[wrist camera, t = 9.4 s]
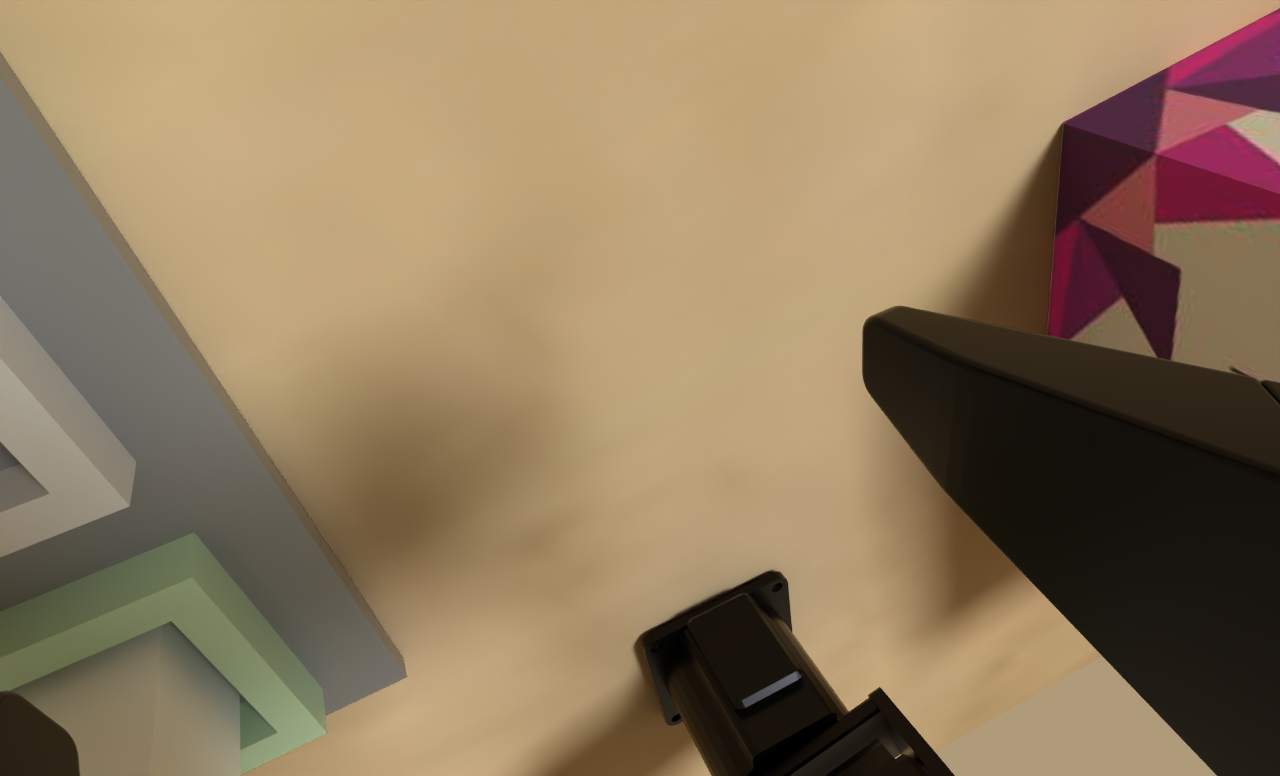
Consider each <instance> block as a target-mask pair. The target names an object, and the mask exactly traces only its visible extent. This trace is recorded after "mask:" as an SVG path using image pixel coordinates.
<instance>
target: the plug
mask: <svg viewBox="0 0 1280 776" xmlns="http://www.w3.org/2000/svg"><path fill="white" fill-rule="evenodd" d="M10 691H11V692H16V693H17V694H19V695H21V696H22V697H24V698H25V699H26V700H27V701H29V702H30V703H31V704H33V705H34V706H35V707H37V708H38V709H39V710H40V711H42V712H43V713H44V714H46V715H47V716H48V717H50V718H51V719H52V720H53V721H55V722H56V723H57V724H59V725H60V726H61V727H63V728H64V729H65V730H66V731H67V732H68V733H69V734H70V736H71V737H72V738H73V740H74V742H75V744H76V748H77V751H78V756H79V767H80V776H241V763H240V692H239V691H238V690H237V689H236V688H235V687H234V686H233V685H232V684H231V683H230V682H229V681H228V680H227V679H226V678H225V677H224V676H223V675H222V674H221V673H220V671H219V670H218V669H217V668H216V667H215V666H214V665H213V664H212V663H211V662H210V661H209V660H208V659H207V658H206V657H205V656H204V655H203V654H202V653H201V652H200V650H199V649H198V648H197V647H196V646H195V645H194V644H193V643H192V642H191V641H190V640H189V639H188V638H187V637H186V636H185V635H184V634H183V633H182V632H181V631H180V630H179V628H178V627H177V626H176V625H175V624H174V623H173V622H172V621H170V622H168V623H166V624H163V625H161V626H159V627H156V628H154V629H152V630H149V631H147V632H145V633H142V634H140V635H138V636H135V637H133V638H131V639H128V640H126V641H124V642H121V643H119V644H117V645H114V646H112V647H110V648H107V649H105V650H103V651H101V652H98V653H96V654H94V655H91V656H89V657H87V658H84V659H82V660H80V661H77V662H75V663H73V664H70V665H68V666H66V667H63V668H61V669H59V670H56V671H54V672H52V673H49V674H47V675H45V676H42V677H40V678H38V679H35V680H33V681H31V682H28V683H26V684H24V685H21V686H19V687H17V688H14V689H12V690H10Z"/></svg>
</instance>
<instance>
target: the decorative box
mask: <svg viewBox="0 0 1280 776" xmlns="http://www.w3.org/2000/svg"><path fill="white" fill-rule="evenodd" d="M1047 335H1048V336H1053V337H1058V338H1063V339H1068V340H1073V341H1077V342H1082V343H1087V344H1092V345H1097V346H1102V347H1107V348H1112V349H1117V350H1122V351H1127V352H1132V353H1137V354H1142V355H1147V356H1151V357H1156V358H1161V359H1166V360H1171V361H1176V362H1181V363H1186V364H1191V365H1196V366H1201V367H1206V368H1211V369H1216V370H1221V371H1225V372H1230V373H1235V374H1240V375H1245V376H1250V377H1254V378H1256V379H1257V380H1258V381H1259V382H1260V381H1262V380H1271V381H1276V382H1280V9H1278V10H1276V11H1274V12H1272V13H1270V14H1269V15H1267V16H1265V17H1263V18H1261V19H1259V20H1257V21H1255V22H1253V23H1252V24H1250V25H1248V26H1246V27H1244V28H1242V29H1240V30H1238V31H1236V32H1234V33H1233V34H1231V35H1229V36H1227V37H1225V38H1223V39H1221V40H1219V41H1217V42H1216V43H1214V44H1212V45H1210V46H1208V47H1206V48H1204V49H1202V50H1200V51H1198V52H1197V53H1195V54H1193V55H1191V56H1189V57H1187V58H1185V59H1183V60H1181V61H1180V62H1178V63H1176V64H1174V65H1172V66H1170V67H1168V68H1166V69H1164V70H1162V71H1161V72H1159V73H1157V74H1155V75H1153V76H1151V77H1149V78H1147V79H1145V80H1144V81H1142V82H1140V83H1138V84H1136V85H1134V86H1132V87H1130V88H1128V89H1126V90H1125V91H1123V92H1121V93H1119V94H1117V95H1115V96H1113V97H1111V98H1109V99H1107V100H1106V101H1104V102H1102V103H1100V104H1098V105H1096V106H1094V107H1092V108H1090V109H1089V110H1087V111H1085V112H1083V113H1081V114H1079V115H1077V116H1075V117H1073V118H1071V119H1070V120H1068V121H1066V122H1064V123H1063V126H1062V140H1061V153H1060V166H1059V179H1058V192H1057V205H1056V218H1055V231H1054V244H1053V258H1052V271H1051V284H1050V297H1049V310H1048V323H1047Z"/></svg>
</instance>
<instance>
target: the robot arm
mask: <svg viewBox="0 0 1280 776" xmlns="http://www.w3.org/2000/svg"><path fill="white" fill-rule="evenodd" d="M862 375H863V380H864V384H865V386H866V389H867V390H868V392H869V394H870V395H871V397H872V398H873V399H874V401H875V402H876V403H877V405H878V406H879V407H880V408H881V410H882V411H883V412H884V414H885V415H886V416H887V418H888V419H889V420H890V421H891V423H892V424H893V425H894V427H895V428H896V429H897V431H898V432H899V433H900V434H901V436H902V437H903V438H904V440H905V441H906V442H907V444H908V445H909V446H910V447H911V449H912V450H913V451H914V453H915V454H916V455H917V457H918V458H919V459H920V460H921V462H922V463H923V464H924V466H925V467H926V468H927V470H928V471H929V472H930V473H931V475H932V476H933V477H934V478H935V480H936V481H937V482H938V483H939V485H940V486H941V487H942V488H943V489H944V491H945V492H946V493H947V494H948V495H949V496H950V497H951V498H952V499H953V500H954V502H955V503H956V504H957V505H958V506H959V507H960V508H961V509H962V510H963V511H964V512H965V513H966V514H967V515H968V516H969V517H970V518H971V519H972V520H973V522H974V523H975V524H976V525H977V526H978V527H979V528H980V529H981V530H982V531H983V532H984V533H985V534H986V535H987V536H988V537H989V538H990V539H991V540H992V541H993V542H994V543H995V544H996V546H997V547H998V548H999V549H1000V550H1001V551H1002V552H1003V553H1004V554H1005V555H1006V556H1007V557H1008V558H1009V559H1010V560H1011V561H1012V562H1013V563H1014V564H1015V565H1016V566H1017V567H1018V568H1019V570H1020V571H1021V572H1022V573H1023V574H1024V575H1025V576H1026V577H1027V578H1028V579H1029V580H1030V581H1031V582H1032V583H1033V584H1034V585H1035V586H1036V587H1037V588H1038V589H1039V590H1040V591H1041V592H1042V593H1043V595H1044V596H1045V597H1046V598H1047V599H1048V600H1049V601H1050V602H1051V603H1052V604H1053V605H1054V606H1055V607H1056V608H1057V609H1058V610H1059V611H1060V612H1061V613H1062V614H1063V615H1064V616H1065V617H1066V619H1067V620H1068V621H1069V622H1070V623H1071V624H1072V625H1073V626H1074V627H1075V628H1076V629H1077V630H1078V631H1079V632H1080V633H1081V634H1082V635H1083V636H1084V637H1085V638H1086V639H1087V640H1088V641H1089V643H1090V644H1091V645H1092V646H1093V647H1094V648H1095V649H1096V650H1097V651H1098V652H1099V653H1100V654H1101V655H1102V656H1103V657H1104V658H1105V659H1106V660H1107V661H1108V662H1109V663H1110V664H1111V665H1112V666H1113V668H1114V669H1115V670H1116V671H1117V672H1118V673H1119V674H1120V675H1121V676H1122V677H1123V678H1124V679H1125V680H1126V681H1127V682H1128V683H1129V684H1130V685H1131V686H1132V687H1133V688H1134V689H1135V690H1136V692H1137V693H1138V694H1139V695H1140V696H1141V697H1142V698H1143V699H1144V700H1145V701H1146V702H1147V703H1148V704H1149V705H1150V706H1151V707H1152V708H1153V709H1154V710H1155V711H1156V712H1157V713H1158V714H1159V716H1160V717H1161V718H1162V719H1163V720H1164V721H1165V722H1166V723H1167V724H1168V725H1169V726H1170V727H1171V728H1172V729H1173V730H1174V731H1175V732H1176V733H1177V734H1178V735H1179V736H1180V737H1181V738H1182V740H1183V741H1184V742H1185V743H1186V744H1187V745H1188V746H1189V747H1190V748H1191V749H1192V750H1193V751H1194V752H1195V753H1196V754H1197V755H1198V756H1199V757H1200V758H1201V759H1202V760H1203V761H1204V762H1205V763H1206V764H1207V766H1208V767H1209V768H1210V769H1211V770H1212V771H1213V772H1214V773H1215V774H1216V775H1217V776H1280V382H1276V381H1271V380H1262V381H1260V382H1259V381H1258V380H1257V379H1256V378H1254V377H1250V376H1245V375H1240V374H1235V373H1230V372H1225V371H1221V370H1216V369H1211V368H1206V367H1201V366H1196V365H1191V364H1186V363H1181V362H1176V361H1171V360H1166V359H1161V358H1156V357H1151V356H1147V355H1142V354H1137V353H1132V352H1127V351H1122V350H1117V349H1112V348H1107V347H1102V346H1097V345H1092V344H1087V343H1082V342H1077V341H1073V340H1068V339H1063V338H1058V337H1053V336H1048V335H1043V334H1038V333H1033V332H1028V331H1023V330H1018V329H1013V328H1008V327H1003V326H999V325H994V324H989V323H984V322H979V321H974V320H969V319H964V318H959V317H954V316H949V315H944V314H939V313H934V312H929V311H925V310H920V309H915V308H910V307H905V306H894V307H891V308H889V309H886V310H884V311H882V312H880V313H877V314H875V315H873V316H870V317H869V318H868V319H867V320H866V321H865V323H864V326H863V342H862ZM641 647H642V650H643V653H644V657H645V660H646V663H647V666H648V670H649V673H650V676H651V679H652V683H653V686H654V689H655V692H656V696H657V699H658V702H659V705H660V708H661V712H662V715H663V717H664V719H665V721H666V723H667V724H668V725H670V726H671V725H676V724H678V723H680V722H682V721H683V722H684V724H685V726H686V727H687V729H688V731H689V733H690V735H691V737H692V739H693V741H694V743H695V745H696V747H697V749H698V751H699V752H700V754H701V756H702V758H703V760H704V762H705V764H706V766H707V768H708V770H709V772H710V774H711V775H712V776H954V774H953V773H952V772H951V771H950V769H949V768H948V767H947V766H946V765H945V763H944V762H943V761H942V760H941V759H940V758H939V757H938V755H937V754H936V753H935V752H934V750H933V749H932V748H931V747H930V746H929V744H928V743H927V742H926V741H925V740H924V739H923V737H922V736H921V735H920V734H919V733H918V731H917V730H916V729H915V728H914V727H913V726H912V724H911V723H910V722H909V721H908V720H907V718H906V717H905V716H904V715H903V714H902V713H901V711H900V710H899V709H898V708H897V707H896V705H895V704H894V703H893V702H892V701H891V700H890V698H889V697H888V696H887V695H886V694H885V692H884V691H883V690H882V689H881V688H880V687H879V688H877V689H876V690H875V691H873V692H872V693H870V694H869V695H868V696H869V698H868V699H867V700H865V701H864V702H862V703H861V704H860V705H858V706H857V707H855V708H854V709H852V710H851V711H850V712H849V711H848V710H847V708H846V707H845V706H844V704H843V703H842V701H841V700H840V699H839V697H838V696H837V694H836V693H835V692H834V690H833V689H832V687H831V686H830V685H829V683H828V682H827V681H826V679H825V678H824V676H823V675H822V674H821V672H820V671H819V669H818V668H817V667H816V665H815V664H814V662H813V661H812V660H811V658H810V657H809V655H808V654H807V653H806V651H805V650H804V649H803V647H802V646H801V644H800V643H799V642H798V640H797V639H796V637H795V636H794V635H793V633H792V624H791V613H790V602H789V590H788V582H787V579H786V578H785V577H784V576H783V574H782V573H781V572H773V573H771V574H769V575H766V576H764V577H762V578H760V579H758V580H756V581H754V582H752V583H750V584H748V585H746V586H744V587H742V588H740V589H738V590H736V591H734V592H732V593H730V594H728V595H726V596H724V597H722V598H720V599H718V600H716V601H714V602H712V603H710V604H708V605H706V606H704V607H702V608H700V609H698V610H696V611H694V612H692V613H690V614H688V615H686V616H684V617H682V618H680V619H678V620H676V621H674V622H672V623H670V624H668V625H666V626H664V627H662V628H660V629H658V630H656V631H654V632H652V633H650V634H648V635H647V636H646V637H645V638H644V639H643V640H642V642H641ZM900 754H901V756H899V757H898V758H897V759H895V758H896V757H897V756H898V755H900ZM0 776H80V767H79V756H78V751H77V748H76V744H75V742H74V740H73V738H72V737H71V736H70V734H69V733H68V732H67V731H66V730H65V729H64V728H63V727H61V726H60V725H59V724H57V723H56V722H55V721H53V720H52V719H51V718H50V717H48V716H47V715H46V714H44V713H43V712H42V711H40V710H39V709H38V708H37V707H35V706H34V705H33V704H31V703H30V702H29V701H27V700H26V699H25V698H24V697H22V696H21V695H19V694H17V693H16V692H11V691H6V690H5V691H0Z"/></svg>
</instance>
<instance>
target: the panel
mask: <svg viewBox="0 0 1280 776" xmlns="http://www.w3.org/2000/svg"><path fill="white" fill-rule="evenodd" d="M170 621H172V622H173V623H174V624H175V625H176V626H177V627H178V628H179V630H180V631H181V632H182V633H183V634H184V635H185V636H186V637H187V638H188V639H189V640H190V641H191V642H192V643H193V644H194V645H195V646H196V647H197V648H198V649H199V650H200V652H201V653H202V654H203V655H204V656H205V657H206V658H207V659H208V660H209V661H210V662H211V663H212V664H213V665H214V666H215V667H216V668H217V669H218V670H219V671H220V673H221V674H222V675H223V676H224V677H225V678H226V679H227V680H228V681H229V682H230V683H231V684H232V685H233V686H234V687H235V688H236V689H237V690H238V691H239V692H240V763H241V774H243V773H245V772H247V771H250V770H252V769H254V768H256V767H258V766H260V765H262V764H264V763H266V762H268V761H270V760H272V759H274V758H277V757H279V756H281V755H283V754H285V753H287V752H289V751H291V750H293V749H295V748H297V747H299V746H302V745H304V744H306V743H308V742H310V741H312V740H314V739H316V738H318V737H320V736H322V735H324V734H327V724H326V715H328V714H330V713H332V712H334V711H336V710H338V709H341V708H343V707H345V706H347V705H349V704H351V703H353V702H355V701H357V700H360V699H362V698H364V697H366V696H368V695H370V694H372V693H374V692H376V691H378V690H381V689H383V688H385V687H387V686H389V685H391V684H393V683H395V682H397V681H400V680H402V679H404V678H406V677H407V674H406V670H405V665H404V660H403V657H402V655H401V654H400V652H399V651H398V649H397V648H396V646H395V645H394V643H393V642H392V640H391V639H390V637H389V636H388V634H387V633H386V631H385V630H384V628H383V627H382V625H381V624H380V622H379V621H378V619H377V618H376V616H375V615H374V613H373V612H372V610H371V609H370V607H369V606H368V604H367V603H366V601H365V600H364V598H363V597H362V595H361V594H360V592H359V591H358V589H357V588H356V586H355V585H354V583H353V582H352V580H351V579H350V577H349V576H348V574H347V573H346V571H345V570H344V568H343V567H342V565H341V564H340V562H339V561H338V559H337V558H336V556H335V555H334V553H333V552H332V550H331V549H330V547H329V546H328V544H327V543H326V541H325V540H324V538H323V537H322V535H321V534H320V532H319V531H318V529H317V528H316V526H315V525H314V523H313V522H312V520H311V519H310V517H309V516H308V514H307V513H306V511H305V510H304V508H303V507H302V505H301V504H300V502H299V501H298V499H297V498H296V496H295V495H294V493H293V491H292V490H291V488H290V487H289V485H288V484H287V482H286V481H285V479H284V478H283V476H282V475H281V473H280V472H279V470H278V469H277V467H276V466H275V464H274V463H273V461H272V460H271V458H270V457H269V455H268V454H267V452H266V451H265V449H264V448H263V446H262V445H261V443H260V442H259V440H258V439H257V437H256V436H255V434H254V433H253V431H252V430H251V428H250V427H249V425H248V424H247V422H246V421H245V419H244V418H243V416H242V415H241V413H240V412H239V410H238V409H237V407H236V406H235V404H234V403H233V401H232V400H231V398H230V397H229V395H228V394H227V392H226V391H225V389H224V388H223V386H222V385H221V383H220V382H219V380H218V379H217V377H216V376H215V374H214V373H213V371H212V370H211V368H210V367H209V365H208V364H207V362H206V361H205V359H204V358H203V356H202V355H201V353H200V352H199V350H198V349H197V347H196V346H195V344H194V343H193V341H192V340H191V338H190V337H189V335H188V334H187V332H186V331H185V329H184V328H183V326H182V325H181V323H180V321H179V320H178V318H177V317H176V315H175V314H174V312H173V311H172V309H171V308H170V306H169V305H168V303H167V302H166V300H165V299H164V297H163V296H162V294H161V293H160V291H159V290H158V288H157V287H156V285H155V284H154V282H153V281H152V279H151V278H150V276H149V275H148V273H147V272H146V270H145V269H144V267H143V266H142V264H141V263H140V261H139V260H138V258H137V257H136V255H135V254H134V252H133V251H132V249H131V248H130V246H129V245H128V243H127V242H126V240H125V239H124V237H123V236H122V234H121V233H120V231H119V230H118V228H117V227H116V225H115V224H114V222H113V221H112V219H111V218H110V216H109V215H108V213H107V212H106V210H105V209H104V207H103V206H102V204H101V203H100V201H99V200H98V198H97V197H96V195H95V194H94V192H93V191H92V189H91V188H90V186H89V185H88V183H87V182H86V180H85V179H84V177H83V176H82V174H81V173H80V171H79V170H78V168H77V167H76V165H75V164H74V162H73V161H72V159H71V158H70V156H69V155H68V153H67V151H66V150H65V148H64V147H63V145H62V144H61V142H60V141H59V139H58V138H57V136H56V135H55V133H54V132H53V130H52V129H51V127H50V126H49V124H48V123H47V121H46V120H45V118H44V117H43V115H42V114H41V112H40V111H39V109H38V108H37V106H36V105H35V103H34V102H33V100H32V99H31V97H30V96H29V94H28V93H27V91H26V90H25V88H24V87H23V85H22V84H21V82H20V81H19V79H18V78H17V76H16V75H15V73H14V72H13V70H12V69H11V67H10V66H9V64H8V63H7V61H6V60H5V58H4V57H3V55H2V54H1V52H0V691H5V690H6V691H10V690H12V689H14V688H17V687H19V686H21V685H24V684H26V683H28V682H31V681H33V680H35V679H38V678H40V677H42V676H45V675H47V674H49V673H52V672H54V671H56V670H59V669H61V668H63V667H66V666H68V665H70V664H73V663H75V662H77V661H80V660H82V659H84V658H87V657H89V656H91V655H94V654H96V653H98V652H101V651H103V650H105V649H107V648H110V647H112V646H114V645H117V644H119V643H121V642H124V641H126V640H128V639H131V638H133V637H135V636H138V635H140V634H142V633H145V632H147V631H149V630H152V629H154V628H156V627H159V626H161V625H163V624H166V623H168V622H170Z"/></svg>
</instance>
